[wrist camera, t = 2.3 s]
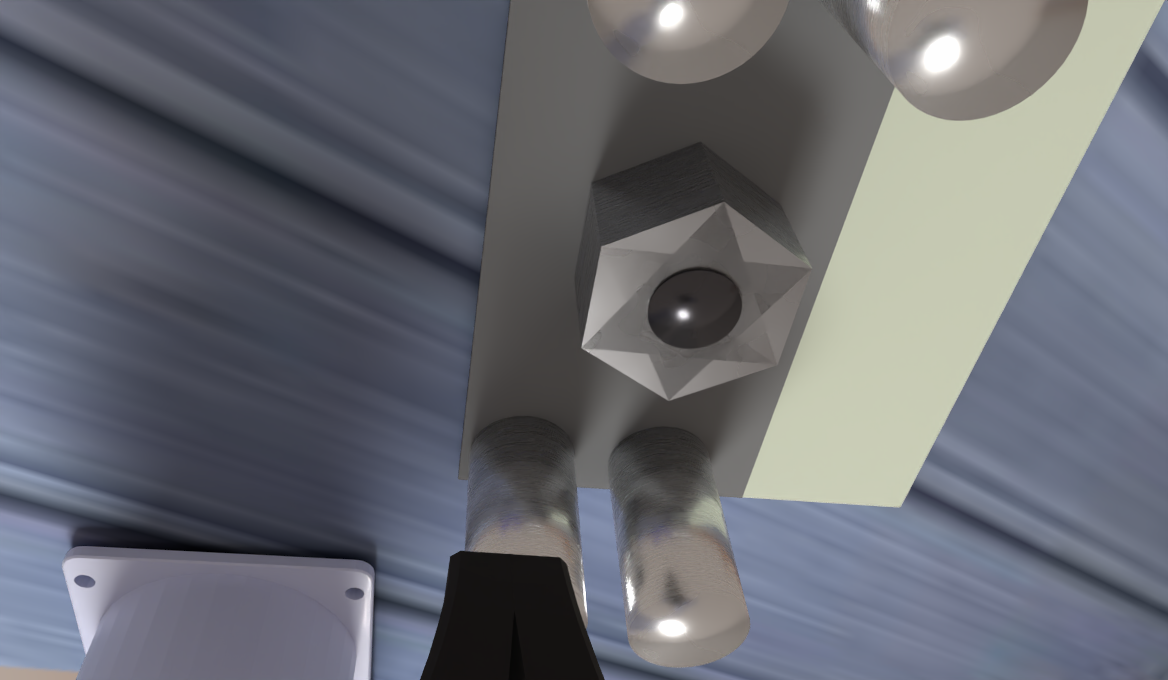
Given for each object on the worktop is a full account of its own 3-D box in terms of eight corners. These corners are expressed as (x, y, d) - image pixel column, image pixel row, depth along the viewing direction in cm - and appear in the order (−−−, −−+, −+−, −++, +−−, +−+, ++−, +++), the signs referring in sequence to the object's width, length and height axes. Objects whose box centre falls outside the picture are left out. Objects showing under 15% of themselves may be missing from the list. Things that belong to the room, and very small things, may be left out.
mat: (895, 497, 25) (900, 507, 25) (459, 468, 24) (458, 479, 23) (1191, -81, 17) (1204, -75, 16) (531, -196, 15) (532, -192, 15)
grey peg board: (732, 505, 25) (775, 670, 21) (465, 488, 23) (456, 659, 20) (966, -138, 15) (1126, -63, 11) (546, -212, 14) (562, -158, 10)
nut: (801, 278, 20) (834, 348, 18) (605, 345, 21) (615, 420, 19) (756, 120, 18) (788, 180, 16) (538, 202, 19) (542, 269, 17)
